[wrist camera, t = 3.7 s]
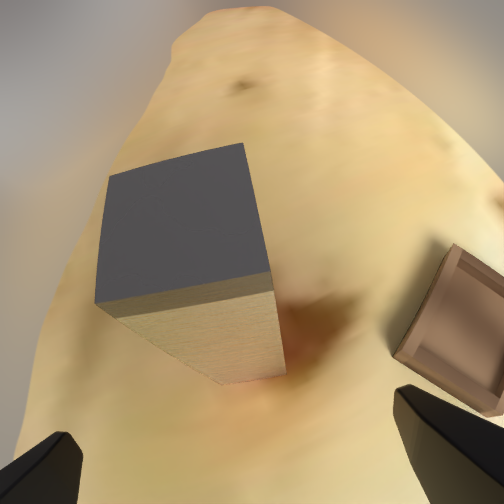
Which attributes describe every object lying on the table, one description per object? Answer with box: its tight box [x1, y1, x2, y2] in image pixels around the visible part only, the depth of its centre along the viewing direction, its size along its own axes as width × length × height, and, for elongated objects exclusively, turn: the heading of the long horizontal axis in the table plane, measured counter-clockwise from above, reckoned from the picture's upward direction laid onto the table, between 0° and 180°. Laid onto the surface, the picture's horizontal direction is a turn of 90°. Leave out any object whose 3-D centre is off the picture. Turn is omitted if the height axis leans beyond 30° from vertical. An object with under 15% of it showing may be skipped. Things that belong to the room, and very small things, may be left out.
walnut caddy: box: [393, 244, 504, 418], centre depth 17 cm, size 9×9×2 cm
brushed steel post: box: [95, 143, 287, 385], centre depth 14 cm, size 4×4×14 cm
